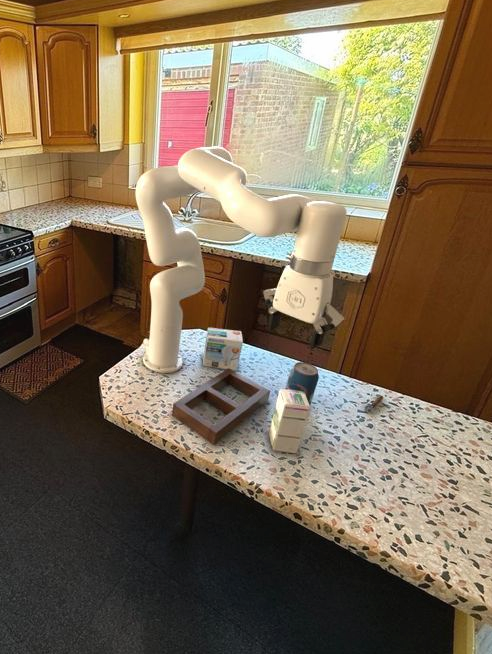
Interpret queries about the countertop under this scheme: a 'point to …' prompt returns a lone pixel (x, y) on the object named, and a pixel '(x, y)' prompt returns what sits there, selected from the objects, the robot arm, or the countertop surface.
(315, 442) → the countertop surface
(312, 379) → the soda can
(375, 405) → the can opener
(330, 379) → the countertop surface
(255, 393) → the caddy
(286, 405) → the syrup box
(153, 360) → the robot arm
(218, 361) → the light bulb box
